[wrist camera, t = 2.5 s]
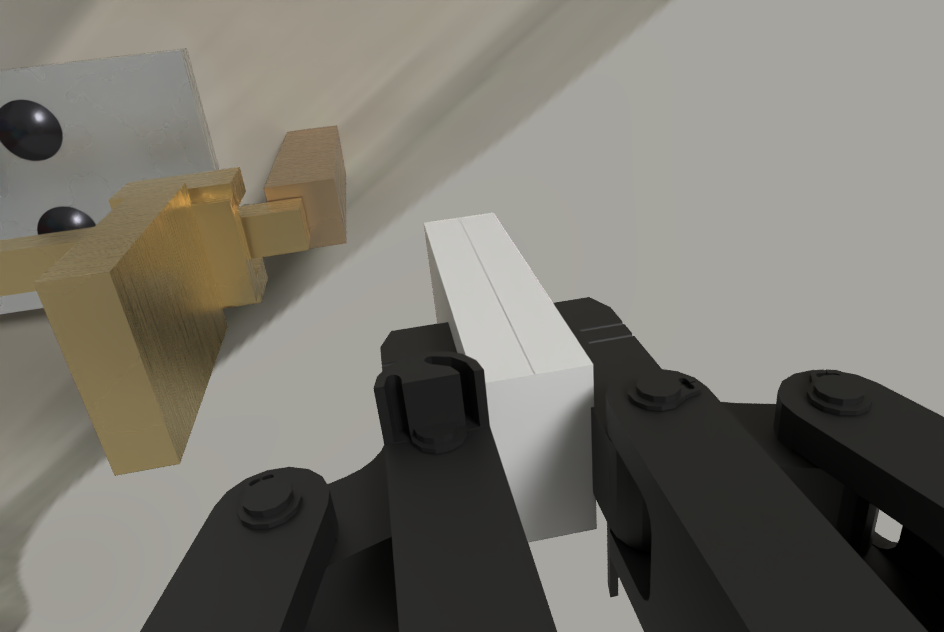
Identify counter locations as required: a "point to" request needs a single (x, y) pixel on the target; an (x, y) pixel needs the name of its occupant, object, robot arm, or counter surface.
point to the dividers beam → (265, 225)
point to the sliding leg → (152, 309)
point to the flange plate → (92, 140)
